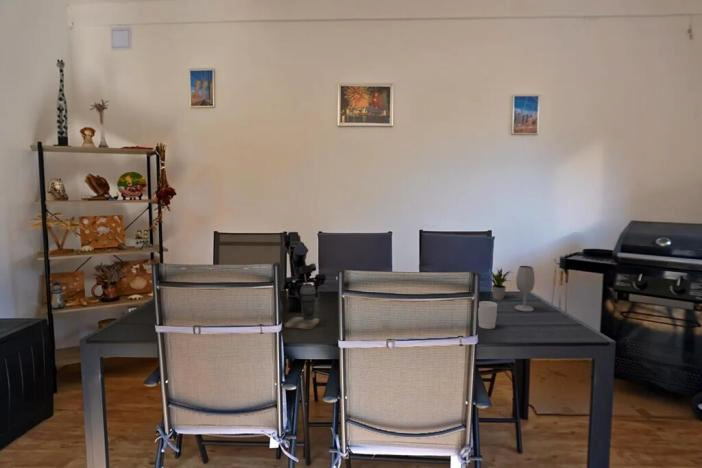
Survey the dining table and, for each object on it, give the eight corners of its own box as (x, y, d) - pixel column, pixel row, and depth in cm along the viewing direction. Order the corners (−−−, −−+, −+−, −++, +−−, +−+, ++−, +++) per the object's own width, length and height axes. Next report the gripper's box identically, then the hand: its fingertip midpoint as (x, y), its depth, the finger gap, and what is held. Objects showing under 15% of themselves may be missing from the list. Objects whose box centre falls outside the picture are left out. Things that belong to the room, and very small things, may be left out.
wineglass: (514, 311, 212) (515, 267, 209) (514, 306, 220) (516, 264, 218) (533, 313, 209) (535, 269, 206) (533, 307, 217) (535, 265, 214)
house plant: (518, 302, 227) (519, 270, 225) (491, 302, 227) (492, 270, 225) (508, 294, 241) (509, 265, 239) (483, 295, 241) (484, 265, 239)
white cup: (486, 330, 185) (487, 307, 184) (473, 325, 192) (474, 302, 191) (500, 327, 189) (501, 304, 188) (487, 322, 196) (487, 300, 195)
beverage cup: (314, 322, 188) (313, 276, 185) (297, 321, 189) (296, 275, 186) (318, 316, 195) (317, 272, 192) (302, 315, 196) (301, 271, 193)
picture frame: (285, 326, 192) (284, 323, 192) (294, 319, 201) (294, 316, 201) (311, 329, 189) (311, 325, 188) (319, 321, 198) (319, 318, 198)
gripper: (283, 259, 188) (291, 291, 180) (324, 255, 196) (334, 286, 187) (278, 273, 196) (286, 304, 188) (318, 269, 204) (327, 299, 196)
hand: (308, 298), depth 189 cm, fingers closed on beverage cup, 7 cm apart
